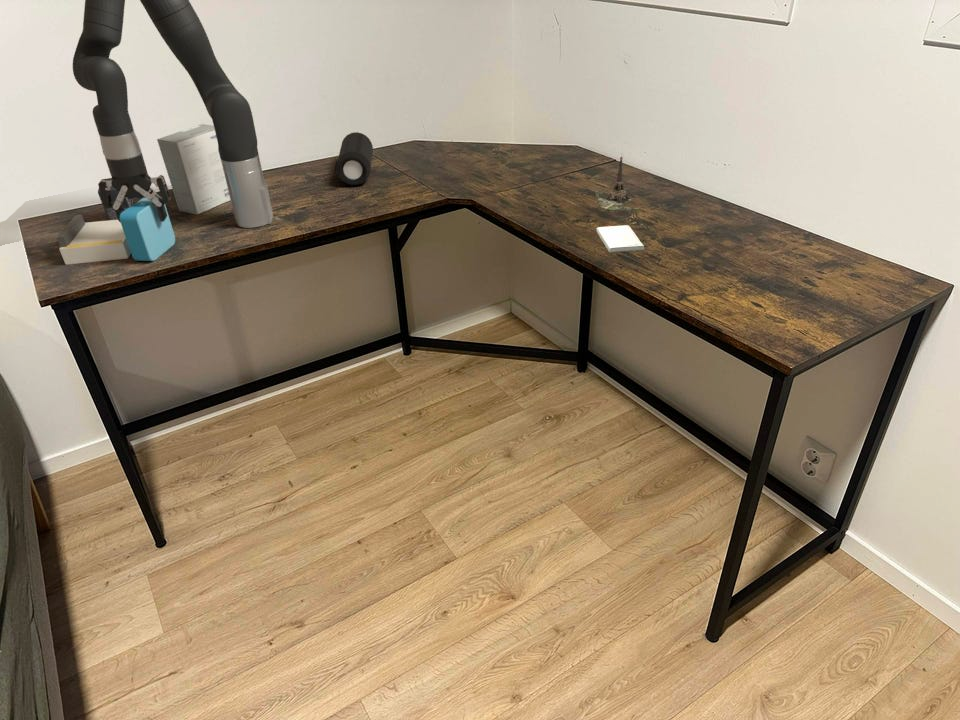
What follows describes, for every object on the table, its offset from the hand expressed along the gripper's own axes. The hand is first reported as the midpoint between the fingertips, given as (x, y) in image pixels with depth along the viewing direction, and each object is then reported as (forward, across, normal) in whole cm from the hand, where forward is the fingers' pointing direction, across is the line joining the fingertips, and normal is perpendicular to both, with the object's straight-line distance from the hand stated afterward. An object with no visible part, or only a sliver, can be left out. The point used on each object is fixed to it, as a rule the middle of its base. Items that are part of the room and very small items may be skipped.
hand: (144, 221), depth 158 cm
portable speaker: (+7, -50, -47) cm, 69 cm away
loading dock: (+8, +12, -6) cm, 16 cm away
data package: (+8, -1, 0) cm, 8 cm away
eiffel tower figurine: (+6, -119, -6) cm, 119 cm away
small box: (+8, +13, -24) cm, 28 cm away
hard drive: (+7, -111, +20) cm, 113 cm away
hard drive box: (+8, -8, -31) cm, 33 cm away
